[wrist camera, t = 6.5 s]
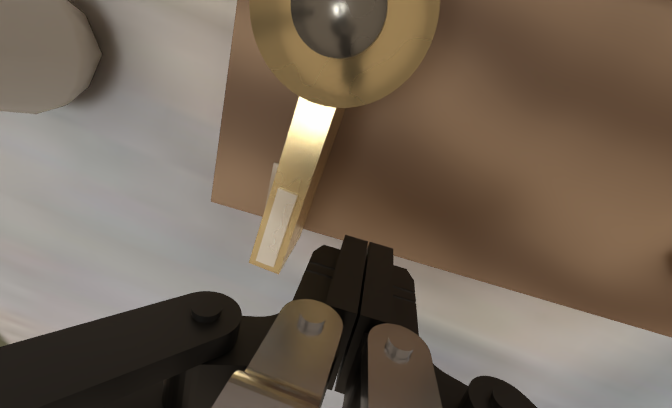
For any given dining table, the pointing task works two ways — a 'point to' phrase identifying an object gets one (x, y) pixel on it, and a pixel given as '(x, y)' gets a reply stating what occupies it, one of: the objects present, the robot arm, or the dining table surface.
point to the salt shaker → (44, 54)
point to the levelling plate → (495, 152)
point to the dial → (328, 88)
